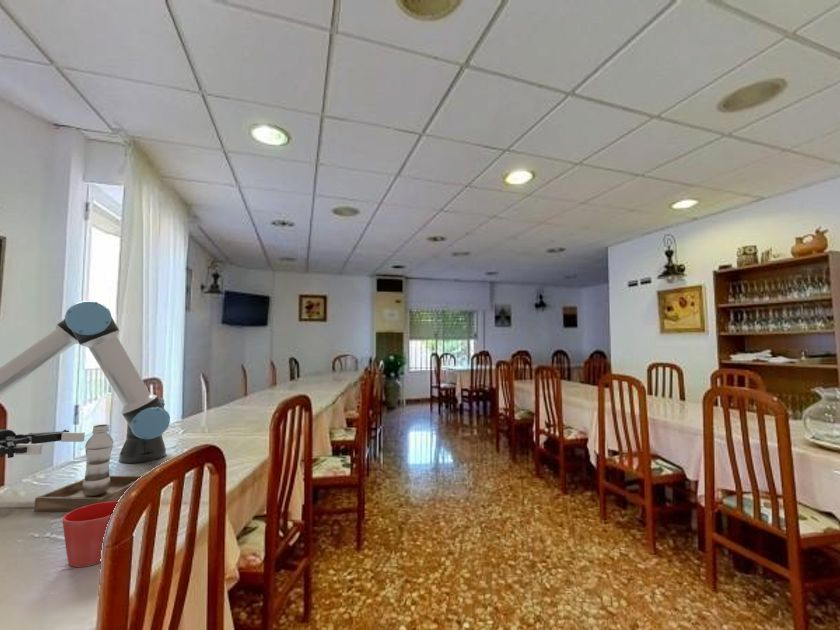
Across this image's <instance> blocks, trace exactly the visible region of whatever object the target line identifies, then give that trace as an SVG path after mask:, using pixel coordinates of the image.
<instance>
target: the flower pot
mask: <svg viewBox="0 0 840 630" xmlns="http://www.w3.org/2000/svg"><path fill="white" fill-rule="evenodd" d="M117 503H118V501H110V502H101V503H96V504H92V505H88V506H84V507H81V508H78V509H75V510H73V511H71V512H66V514H64V515H63V517H62V527H63V529H62V530H63V534H64V535H63V536H64V543H65V549H66V550H65V551H66V556H67V563H68V565H69V566H71V567H75V568H84V567H90V566H93V565H96V564H99V563H101V562H100V559H101V550H102V543H103V537H104V534H105V530H106V527H107V524H108V522H109V520H110V517H111V514H112V513H113V510H114V508H115V506H116V504H117Z"/></svg>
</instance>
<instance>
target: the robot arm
mask: <svg viewBox="0 0 840 630" xmlns="http://www.w3.org/2000/svg"><path fill="white" fill-rule="evenodd" d="M119 333H120V329H119V327H118V325H117V323H116V322H115V319H114V318H113V316H112V313H111V311H110V309H109V308H108V307H107V306H106V305H104V304H103V303H101V302H99V301H95V300H83V301H79V302H77V303H74V304H73V305H71V306H70V307H69V308H68V309H67V310H66V313H65V315H64V319H62V320H61V321H60V322H58V323H57V324H56V325H55V329H54V330H52V331H51V332H49V333H48V334H46V335H45V336H43V337H42V338H41V339H39V340H38V341H37V342H35V343H34V344H32V345H30V346H29V347H28V348H26V349H25V350H24V351H21V352H20V353H19V354H18V355H16V356H15V357H13V358H12V359H11V360H9V361H7V362H6V363H5V364H3V365H2V366H0V399H1V398H2V397H4V396H5V395H6V394H8V393H9V392H11V391H12V390H13V389H15V388H16V387H17V386H19V385H20V384H22V383H23V382H25V381H26V380H27V379H28V378H30V377H31V376H32V375H34V374H35V373H37V372H38V371H39V370H41V369H42V368H44V367H45V366H46V365H48V364H49V363H50V362H52V361H53V360H55V359H56V358H58V357H59V356H60V355H62V354H63V353H64V352H66V351H67V350H69V349H70V348H72V347H73V346H74V345H77V344H79V345H80V346H81V347H86V348H88V350H89V351H90V353H91V354H92V356H93V357H94V359H95V361H96V363H97V364H98V366H99V367H100V370H101V371H102V373H103V374H104V377H106V379H107V381H108V382H109V384H110V386H111V387H112V390H113V391H114V392H115V395H116V396H117V397H118V399H119V401H120V403H121V404H122V405H123V407H122V410H121V414H122V416H123V418H124V420H125V421H126V423H127V427H126V439H125V442H124V444H123V445H122V448H121V450H120V453H119V455H118V456H119V457H118V461H119V462H121V463H123V464H124V463H127V464H133V463H136V464H137V463H144V462H145V463H146V462H151V461H154V459H155V460H159V459H161V458H163V456H164V457H165V456H166V454H167V448H166V445H165V444H166V443H165V441H164V438H163V434H164V433H165V432H166V431H167V429H168V428H169V426H170V423H171V419H170V418H171V417H170V414H169V412H168V411H167V410H166V409H165V405H166V404H165V400H164V398H161V397H158V395H157V394H152V393H151V392H150V391H149V389H148V387H147V386H146V384H145V381H143V379H142V377H141V376H140V374H139V371H138V369H137V368H136V367H135V365H134V363H133V361H132V360H131V359H130V356H129V355H128V353H127V350H126V349H125V348H124V346H123V344H122V343H121V341H120V339H119V337H118V335H119ZM85 434H86V433H85V432H83V431H82V432H78V431H77V432H76V431H75V432H74V431H73V432H72V431H71V432H70V430H69V429H63V430H61V431H50V432H49V431H45V432H30V433H28V434H27V433H26V434H24V433H20V434H16V433H15V431H13V430H12V429H6V428H4V429H3V428H1V429H0V458H3V457H5V456H6V455H7V459H11V458H14V457H15V455H24V456H25V455H27V456H28V455H29V456H30V455H34V456H35V455H38V456H39V455H42V454H43V444H44V443H45V444H46V443H52V442H53V443H54V442H66V443H67V442H68V443H70V442H72V443H75V442H76V443H80V442H81V443H82V442H85ZM160 457H161V458H160ZM158 458H159V459H158ZM150 460H151V461H150Z"/></svg>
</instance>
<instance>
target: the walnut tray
mask: <svg viewBox="0 0 840 630" xmlns="http://www.w3.org/2000/svg"><path fill="white" fill-rule="evenodd" d="M141 476H142V475H110V481H111V485H110V488H109V490H108V491H107V492H106V493H104V494H101V495H97V496H84V495H83V493H82V484H83V481H84V478H82V479H79V480H76V481H75V482H72V483H70V484H67V485H63V486H62V487H60V488H59V487H58V488H57V489H55V490H52V491H50V492H47V493H44V494H42V495H40V496H36V497H34V506H33V507H34V508H33V512H42V513H43V512H45V513H46V512H48V513H49V512H50V513H51V512H52V513H53V512H54V513H55V512H56V513H69V512H71V511H73V510H75V509H78V508H81V507H84V506H88V505H92V504H96V503H101V502H110V501H118V500H119V499H120V497H121V496H122V495H123V494H124V492H125V491H126V490H127V489H128V488H129V487H130V486H131V485H132V484H133V483H134V482H135V481H136V480H137V479H138V478H140V477H141Z"/></svg>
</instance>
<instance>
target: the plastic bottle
mask: <svg viewBox="0 0 840 630" xmlns="http://www.w3.org/2000/svg"><path fill="white" fill-rule="evenodd" d="M109 428H110V424H103V423H102V424H97V425H94V426H93V427H92V435H91V436H90V437H89V439H88V440H86V443H85V445H84V446H85V447H84V448H85V459H86V461H85V462H86V465H85V466H86V467H85V471H84V472H85V473H84V478H83V479H84V481H83V484H82V493H83V495H84V496H97V495H101V494H104V493H106V492H107V491H108V490H109V488H110V485H111V481H110V476H111V474H110V462H111V454H112V451H113V446H114V440H113V438H112V437H111V435H110V434H109V433H108V432H110V429H109Z"/></svg>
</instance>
